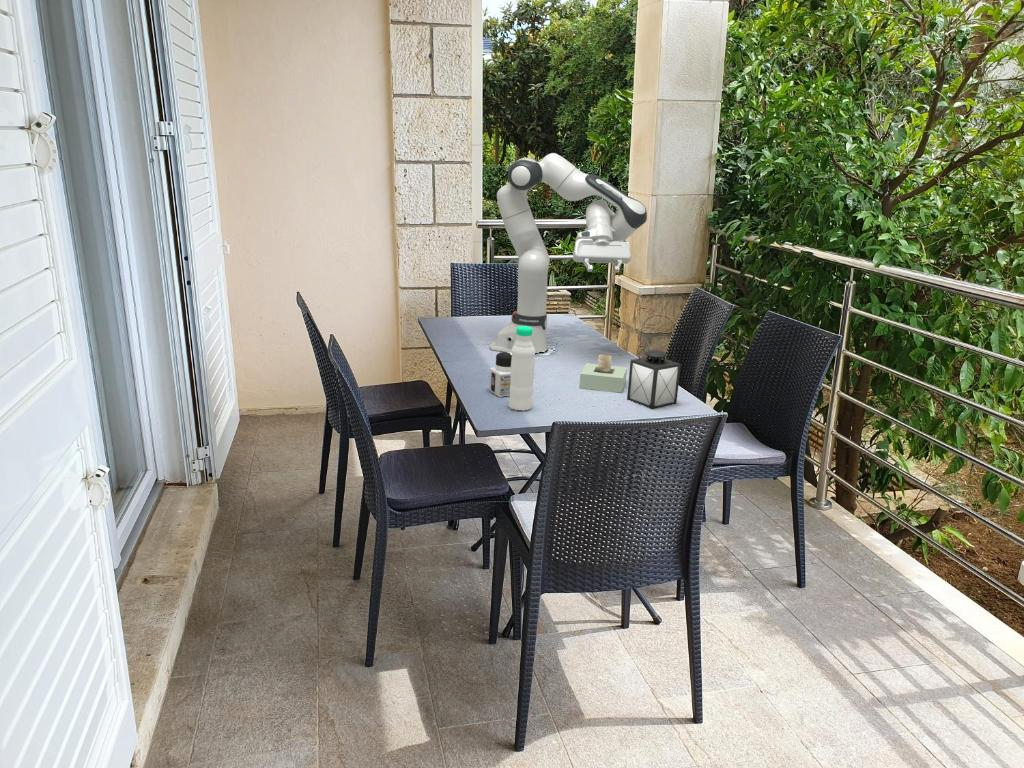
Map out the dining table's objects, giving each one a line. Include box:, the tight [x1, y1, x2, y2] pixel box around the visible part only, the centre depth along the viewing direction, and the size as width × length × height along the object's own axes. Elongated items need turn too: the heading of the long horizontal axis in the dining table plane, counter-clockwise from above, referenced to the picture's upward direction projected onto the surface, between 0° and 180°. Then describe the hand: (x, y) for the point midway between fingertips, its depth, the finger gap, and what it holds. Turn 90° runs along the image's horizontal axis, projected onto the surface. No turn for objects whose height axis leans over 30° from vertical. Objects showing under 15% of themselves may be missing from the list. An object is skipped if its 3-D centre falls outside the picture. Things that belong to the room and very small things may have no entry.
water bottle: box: [508, 326, 536, 411], centre depth 238 cm, size 7×7×25 cm
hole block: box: [579, 362, 628, 394], centre depth 269 cm, size 14×14×5 cm
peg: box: [597, 354, 613, 374], centre depth 268 cm, size 4×4×10 cm
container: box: [488, 351, 512, 398], centre depth 254 cm, size 8×8×13 cm
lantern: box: [626, 314, 682, 410], centre depth 250 cm, size 11×11×28 cm
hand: (603, 271), depth 278 cm, fingers open, 8 cm apart
